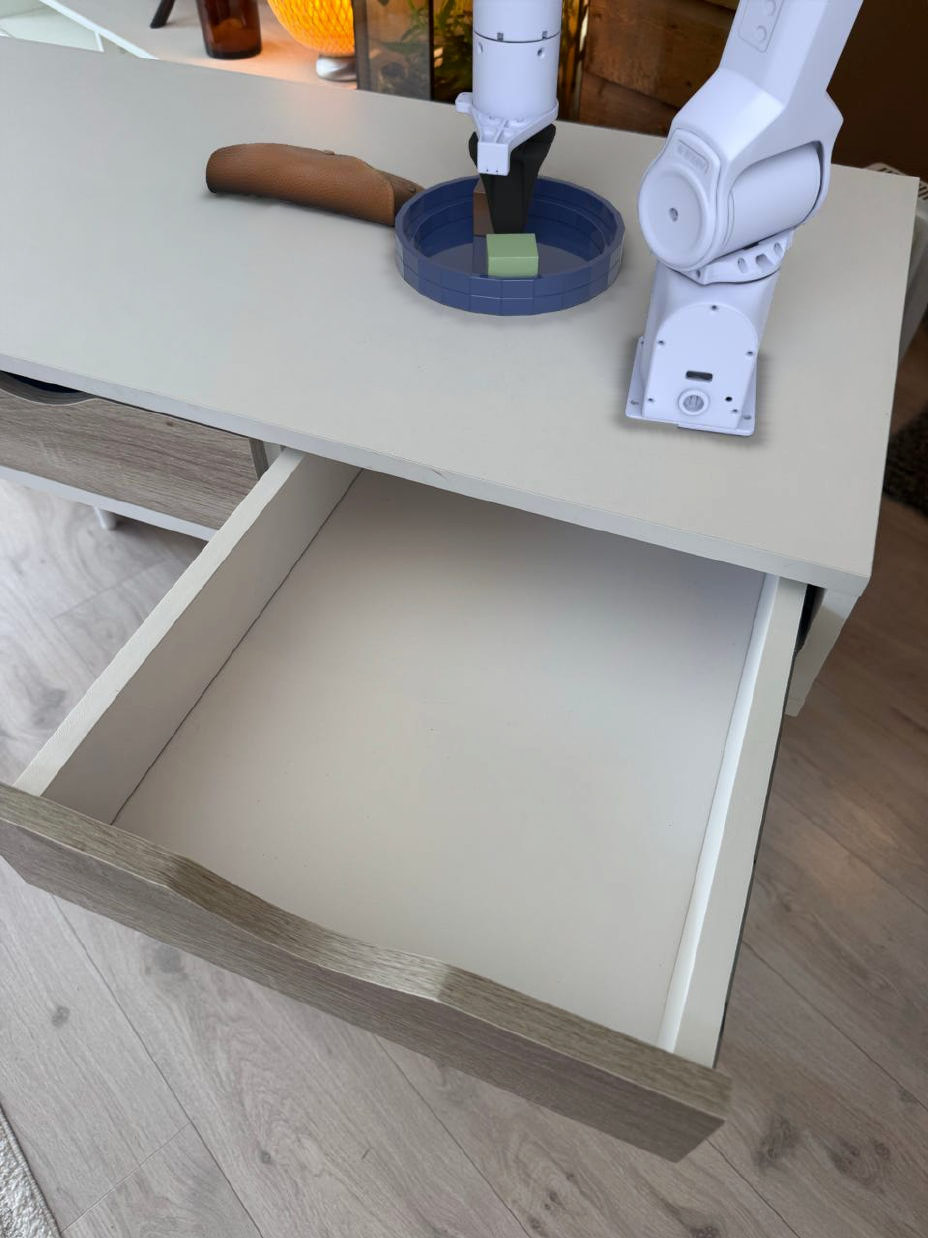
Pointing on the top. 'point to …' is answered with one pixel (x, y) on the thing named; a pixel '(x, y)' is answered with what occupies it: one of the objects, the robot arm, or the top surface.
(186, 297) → the top surface
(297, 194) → the sunglasses case
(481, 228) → the walnut block
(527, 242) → the sage block
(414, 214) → the bowl
